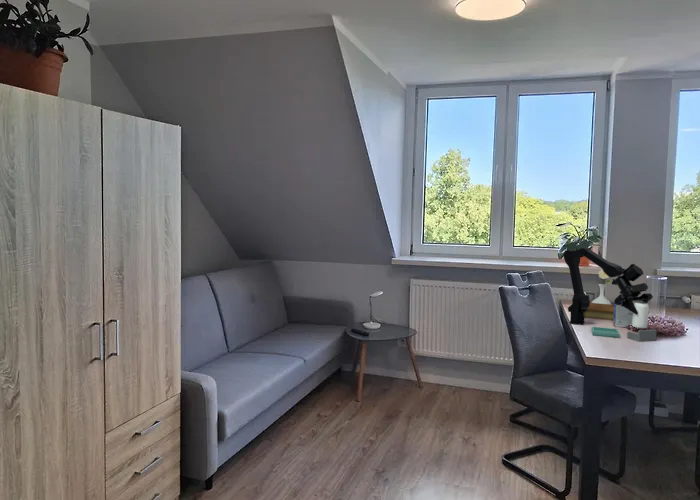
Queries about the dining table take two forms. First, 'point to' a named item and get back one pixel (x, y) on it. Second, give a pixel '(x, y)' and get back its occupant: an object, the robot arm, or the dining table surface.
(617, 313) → the ink cartridge box
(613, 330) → the tray
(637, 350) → the dining table surface
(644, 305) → the can
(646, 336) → the bay
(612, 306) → the diary
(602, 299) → the flower in vase
